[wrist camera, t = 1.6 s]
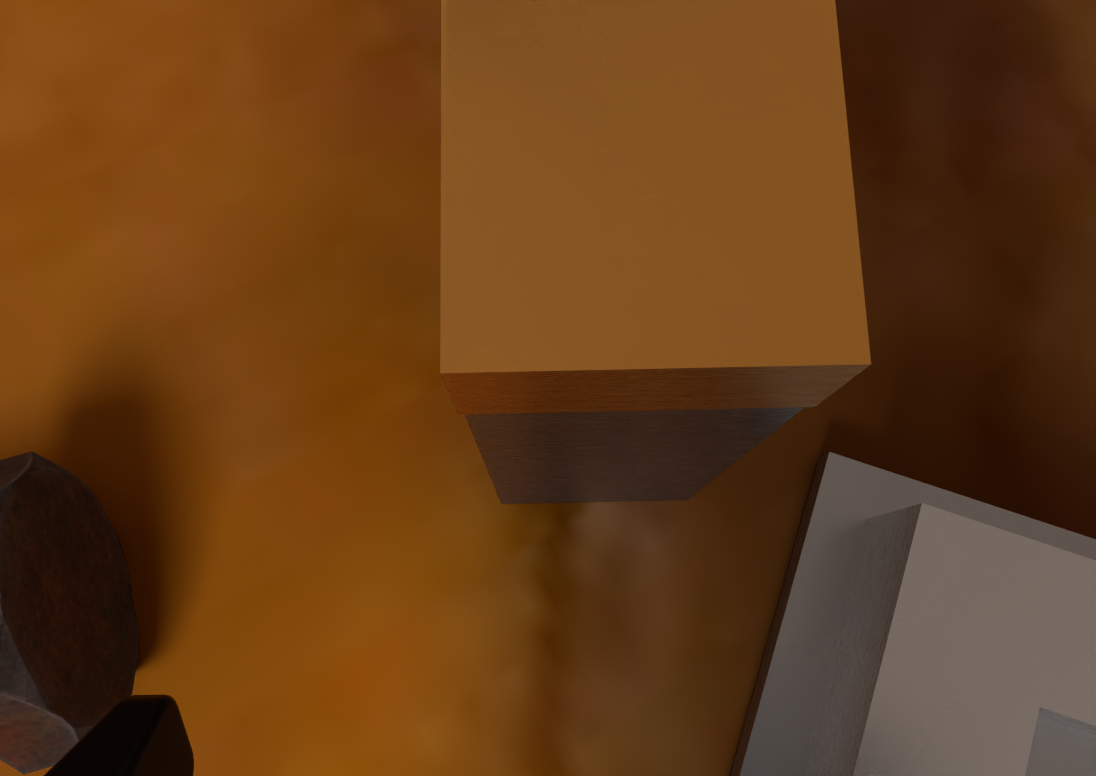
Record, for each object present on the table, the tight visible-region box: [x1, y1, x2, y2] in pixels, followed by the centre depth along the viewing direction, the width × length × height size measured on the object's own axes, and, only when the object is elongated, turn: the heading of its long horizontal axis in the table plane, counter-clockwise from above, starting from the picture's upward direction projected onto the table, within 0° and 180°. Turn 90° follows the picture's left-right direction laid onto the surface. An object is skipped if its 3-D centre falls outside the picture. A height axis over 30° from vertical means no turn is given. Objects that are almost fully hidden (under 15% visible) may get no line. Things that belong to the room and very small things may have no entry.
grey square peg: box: [440, 0, 871, 504], centre depth 16 cm, size 4×4×12 cm
